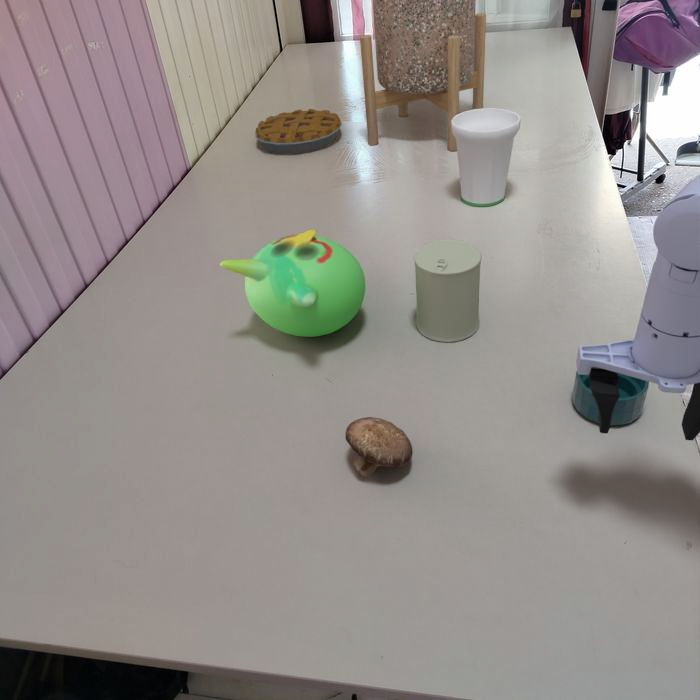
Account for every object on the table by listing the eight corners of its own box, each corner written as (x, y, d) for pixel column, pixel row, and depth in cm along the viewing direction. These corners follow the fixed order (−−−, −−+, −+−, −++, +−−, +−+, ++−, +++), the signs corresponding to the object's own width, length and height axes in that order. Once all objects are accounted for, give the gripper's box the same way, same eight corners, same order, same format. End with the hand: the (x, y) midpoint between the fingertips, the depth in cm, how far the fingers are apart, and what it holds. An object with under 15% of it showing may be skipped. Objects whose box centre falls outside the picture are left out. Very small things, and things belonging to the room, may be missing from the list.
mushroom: (342, 480, 68) (361, 427, 67) (329, 451, 76) (346, 403, 75) (408, 496, 70) (428, 444, 69) (389, 466, 78) (406, 419, 77)
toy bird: (387, 310, 98) (381, 224, 89) (327, 374, 87) (312, 284, 78) (294, 284, 106) (279, 203, 97) (228, 340, 96) (205, 256, 87)
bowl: (643, 390, 79) (650, 362, 76) (639, 434, 74) (646, 406, 71) (576, 377, 82) (581, 350, 79) (567, 419, 76) (571, 392, 74)
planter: (457, 152, 144) (457, -9, 124) (366, 146, 153) (353, -5, 133) (484, 118, 159) (488, -30, 139) (400, 114, 168) (392, -25, 148)
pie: (341, 152, 150) (339, 131, 147) (251, 160, 152) (246, 140, 149) (344, 121, 167) (342, 101, 164) (263, 128, 169) (259, 109, 166)
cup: (485, 178, 132) (488, 103, 122) (529, 197, 123) (535, 118, 113) (437, 196, 127) (437, 120, 117) (479, 218, 118) (482, 137, 109)
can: (407, 336, 92) (404, 265, 85) (426, 301, 99) (425, 232, 91) (470, 347, 89) (472, 274, 81) (485, 310, 95) (489, 239, 88)
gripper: (591, 341, 52) (569, 453, 60) (790, 352, 49) (737, 468, 57) (584, 292, 57) (564, 401, 65) (763, 299, 54) (718, 413, 63)
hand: (644, 429), depth 62 cm, fingers open, 7 cm apart
